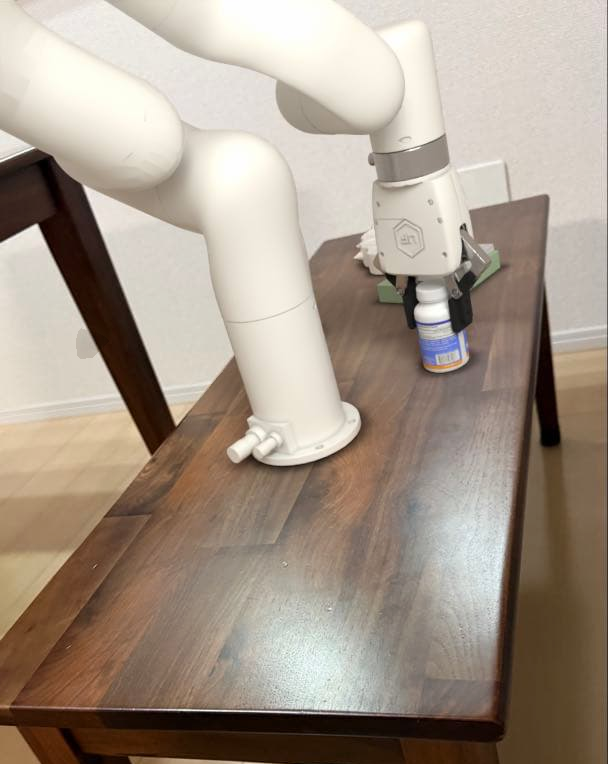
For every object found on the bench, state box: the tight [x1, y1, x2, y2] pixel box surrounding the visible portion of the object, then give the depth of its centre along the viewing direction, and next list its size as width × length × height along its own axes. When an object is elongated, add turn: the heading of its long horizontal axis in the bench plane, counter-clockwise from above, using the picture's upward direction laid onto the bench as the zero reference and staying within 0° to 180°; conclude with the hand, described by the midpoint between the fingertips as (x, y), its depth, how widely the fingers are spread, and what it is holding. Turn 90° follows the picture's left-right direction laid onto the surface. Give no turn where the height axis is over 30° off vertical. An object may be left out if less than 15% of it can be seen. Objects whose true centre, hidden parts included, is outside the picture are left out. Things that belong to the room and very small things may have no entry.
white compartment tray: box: [352, 223, 384, 276], centre depth 135 cm, size 3×18×15 cm
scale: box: [376, 243, 501, 304], centre depth 119 cm, size 13×12×4 cm
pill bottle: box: [414, 277, 470, 374], centre depth 96 cm, size 5×5×10 cm
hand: (440, 324), depth 96 cm, fingers closed on pill bottle, 5 cm apart
